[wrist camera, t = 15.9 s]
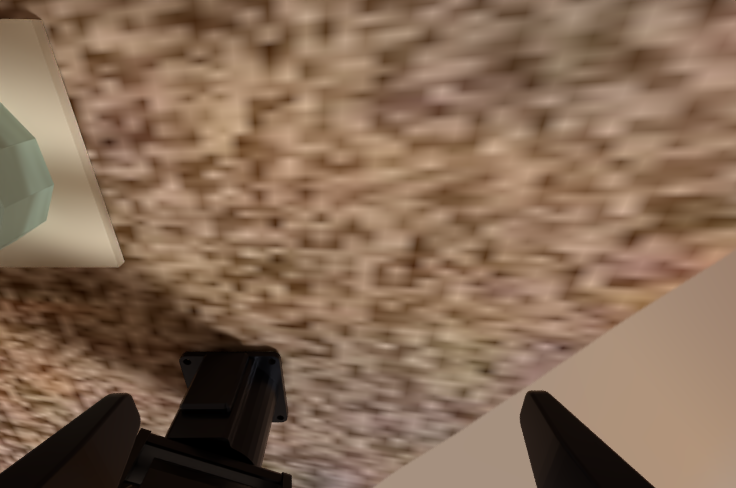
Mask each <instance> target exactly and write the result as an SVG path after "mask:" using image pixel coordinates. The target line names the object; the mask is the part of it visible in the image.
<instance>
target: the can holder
mask: <svg viewBox="0 0 736 488" xmlns="http://www.w3.org/2000/svg"><path fill="white" fill-rule="evenodd" d="M124 262H125V261H124V258H123V255H122V253H121V250H120V247H119V244H118V241H117V238H116V235H115V232H114V229H113V226H112V223H111V220H110V218H109V215H108V212H107V209H106V206H105V203H104V200H103V197H102V194H101V191H100V188H99V185H98V183H97V180H96V177H95V174H94V171H93V168H92V165H91V162H90V159H89V156H88V153H87V151H86V148H85V145H84V142H83V139H82V136H81V133H80V130H79V127H78V124H77V121H76V118H75V116H74V113H73V110H72V107H71V104H70V101H69V98H68V95H67V92H66V89H65V86H64V83H63V81H62V78H61V75H60V72H59V69H58V66H57V63H56V60H55V57H54V54H53V51H52V48H51V46H50V43H49V40H48V37H47V34H46V31H45V28H44V25H43V22H42V20H37V19H0V267H120V266H121V265H122V264H123V263H124Z"/></svg>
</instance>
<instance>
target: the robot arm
mask: <svg viewBox="0 0 736 488" xmlns="http://www.w3.org/2000/svg"><path fill="white" fill-rule="evenodd" d="M187 359H188V360H187ZM271 359H274V360H271ZM179 362H180V365H181V369H182V372H183V375H184V378H185V382H186V385H187V388H188V390H187V392H186V394H185V396H184V398H183V400H182V402H181V404H180V408H179V410H178V412H177V414H176V416H175V418H174V420H173V422H172V424H171V426H170V428H169V430H168V432H167V434H166V436H165V437H162V436H159V435H156V434H152V433H151V431H149V430H146V429H143V428H141V430H140V431H139V433H138V430H139V427H140V421H141V420H140V415H139V412H138V410H137V408H136V405H135V403H134V400H133V398H132V396H131V395H130V394H128V393H113V394H109V395H107V396H105V397H104V398H103V399H101V400H100V401H98V402H97V403H96V404H94V405H93V406H92V407H90V408H89V409H88V410H86V411H85V412H83V413H82V414H81V415H79V416H78V417H77V418H75V419H74V420H73V421H71V422H70V423H68V424H67V425H66V426H64V427H63V428H62V429H60V430H59V431H58V432H56V433H55V434H54V435H52V436H51V437H49V438H48V439H47V440H45V441H44V442H43V443H41V444H40V445H39V446H37V447H36V448H34V449H33V450H32V451H30V452H29V453H28V454H26V455H25V456H24V457H22V458H21V459H19V460H18V461H17V462H15V463H14V464H13V465H11V466H10V467H9V468H7V469H6V470H4V471H3V472H2V473H0V488H292V475H290V474H287V473H284V472H282V473H278V472H275V471H271V470H268V469H265V468H262V467H261V465H262V461H263V457H264V453H265V449H266V444H267V440H268V436H269V432H270V428H271V423H272V422H284V421H286V420H287V417H288V407H287V400H286V392H285V385H284V378H283V370H282V363H281V357H280V355H279V354H278V353H276V352H185V353H183V355H182V356H181V358H180V360H179ZM520 424H521V428H522V432H523V436H524V440H525V443H526V447H527V451H528V455H529V459H530V463H531V466H532V470H533V473H534V478H535V482H536V485H537V488H655V487H654V486H653V485H651V484H650V483H649V482H648V481H647V480H646V479H645V478H644V477H643V476H641V475H640V474H639V473H638V472H637V471H636V470H635V469H633V468H632V467H631V466H630V465H629V464H628V463H627V462H626V461H624V460H623V459H622V458H621V457H620V456H619V455H618V454H617V453H616V452H615V451H613V450H612V449H611V448H610V447H609V446H608V445H607V444H606V443H604V442H603V441H602V440H601V439H600V438H599V437H598V436H596V435H595V434H594V433H593V432H592V431H591V430H590V429H589V428H588V427H586V426H585V425H584V424H583V423H582V422H581V421H580V420H579V419H578V418H576V417H575V416H574V415H573V414H572V413H571V412H570V411H568V410H567V409H566V408H565V407H564V406H563V405H562V404H561V403H560V402H558V401H557V400H556V399H555V398H554V397H553V396H552V395H551V394H549V393H548V392H546V391H528V392H527V393H526V396H525V399H524V402H523V406H522V409H521V413H520ZM137 433H138V435H137Z"/></svg>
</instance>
